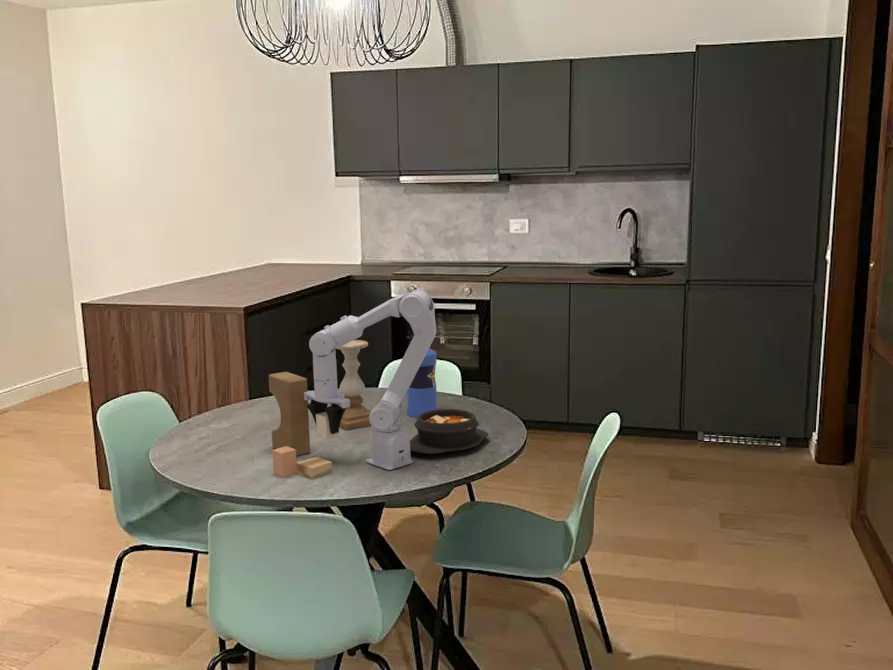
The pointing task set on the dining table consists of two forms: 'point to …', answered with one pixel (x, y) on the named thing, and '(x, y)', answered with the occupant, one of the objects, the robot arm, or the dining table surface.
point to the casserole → (446, 432)
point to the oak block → (314, 467)
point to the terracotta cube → (284, 461)
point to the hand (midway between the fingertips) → (328, 431)
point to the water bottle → (423, 387)
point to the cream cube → (324, 427)
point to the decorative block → (291, 412)
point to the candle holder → (353, 388)
